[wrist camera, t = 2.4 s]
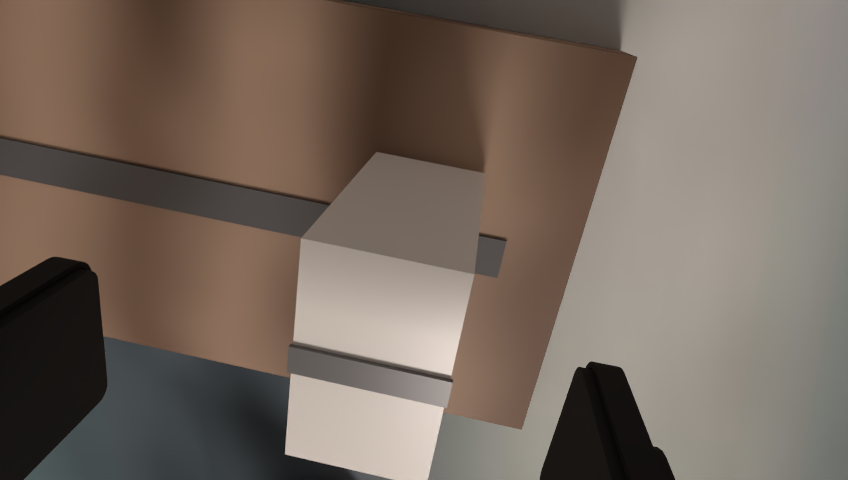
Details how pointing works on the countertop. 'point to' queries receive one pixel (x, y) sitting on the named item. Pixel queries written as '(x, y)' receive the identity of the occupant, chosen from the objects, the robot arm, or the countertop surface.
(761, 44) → the countertop surface
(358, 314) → the fader knob
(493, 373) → the console board
